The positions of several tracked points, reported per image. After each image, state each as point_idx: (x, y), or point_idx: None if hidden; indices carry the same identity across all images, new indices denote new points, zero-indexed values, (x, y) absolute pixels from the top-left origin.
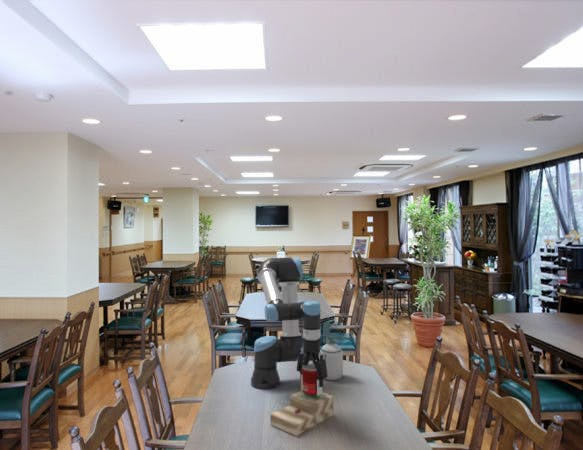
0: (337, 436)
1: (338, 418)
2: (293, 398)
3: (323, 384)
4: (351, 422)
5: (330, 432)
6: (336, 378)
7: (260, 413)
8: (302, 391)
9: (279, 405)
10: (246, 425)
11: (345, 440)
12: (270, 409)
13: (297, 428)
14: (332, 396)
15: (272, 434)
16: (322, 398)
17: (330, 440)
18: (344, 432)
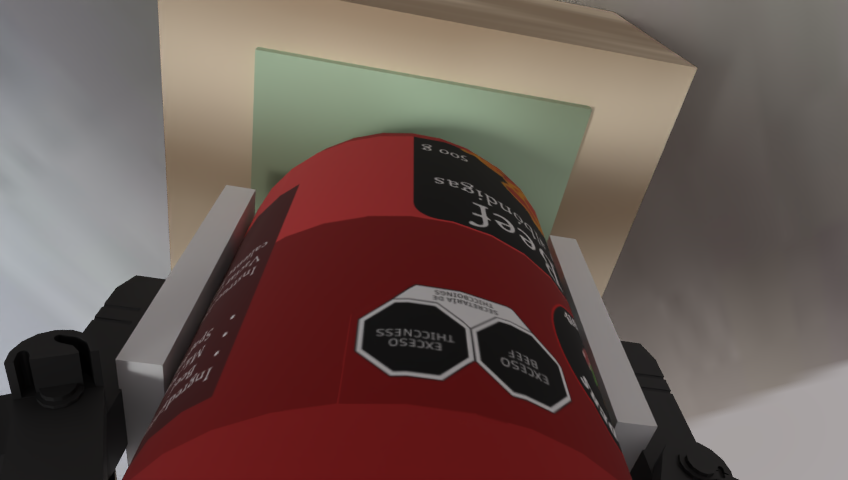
0: (743, 323)
1: (687, 56)
2: None
3: (661, 372)
4: (836, 65)
5: (679, 303)
6: None
7: (34, 328)
8: (201, 165)
9: (6, 125)
10: (124, 474)
11: (810, 339)
12: (25, 237)
13: None
14: (688, 86)
15: None
16: (571, 220)
17: (705, 381)
18: (789, 255)
